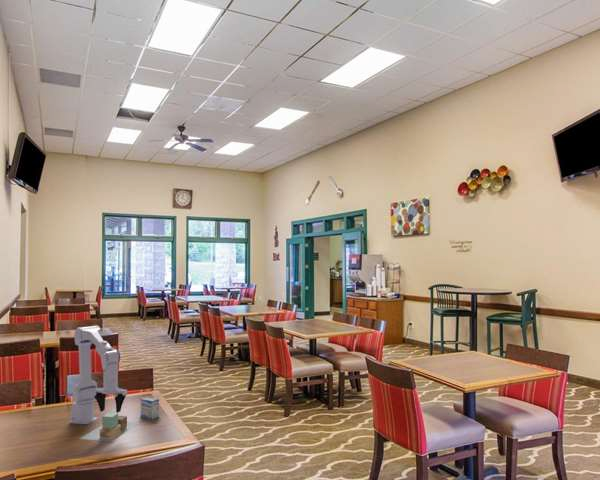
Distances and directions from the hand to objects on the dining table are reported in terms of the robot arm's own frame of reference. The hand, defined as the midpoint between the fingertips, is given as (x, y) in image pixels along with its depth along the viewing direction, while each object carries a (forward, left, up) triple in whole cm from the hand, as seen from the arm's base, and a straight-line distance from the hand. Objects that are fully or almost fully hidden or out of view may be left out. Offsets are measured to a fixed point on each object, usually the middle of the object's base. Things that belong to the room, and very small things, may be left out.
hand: (110, 411), depth 197 cm
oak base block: (0, 0, -10) cm, 10 cm away
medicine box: (+5, +24, -11) cm, 27 cm away
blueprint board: (-3, +5, -10) cm, 12 cm away
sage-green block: (0, 0, -6) cm, 7 cm away
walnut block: (0, +7, -10) cm, 12 cm away
